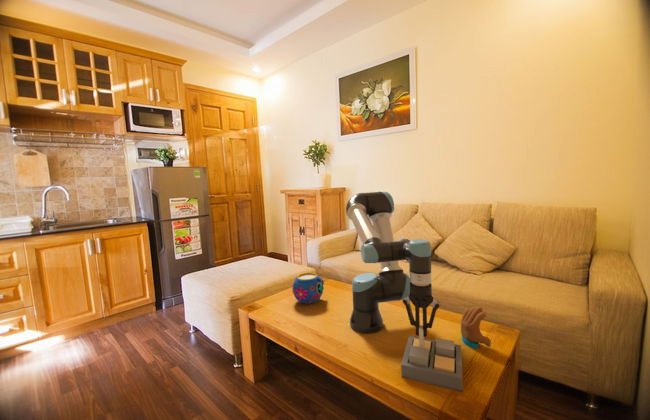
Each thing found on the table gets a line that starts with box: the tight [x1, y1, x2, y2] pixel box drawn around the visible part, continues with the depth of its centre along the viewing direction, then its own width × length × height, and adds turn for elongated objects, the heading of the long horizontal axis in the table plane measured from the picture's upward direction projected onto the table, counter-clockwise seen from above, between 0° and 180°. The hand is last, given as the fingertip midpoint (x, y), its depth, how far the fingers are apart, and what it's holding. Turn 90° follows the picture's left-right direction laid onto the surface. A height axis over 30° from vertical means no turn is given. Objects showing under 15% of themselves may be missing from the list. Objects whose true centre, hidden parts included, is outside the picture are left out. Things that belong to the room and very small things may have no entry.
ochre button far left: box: [413, 338, 431, 353], centre depth 102 cm, size 6×6×4 cm
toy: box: [460, 306, 492, 350], centre depth 108 cm, size 12×7×15 cm, turn 5°
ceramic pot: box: [291, 272, 325, 304], centre depth 156 cm, size 18×18×15 cm
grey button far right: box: [435, 337, 455, 358], centre depth 99 cm, size 6×6×4 cm
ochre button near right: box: [434, 355, 454, 373], centre depth 92 cm, size 6×6×4 cm
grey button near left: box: [409, 345, 429, 367], centre depth 95 cm, size 6×6×4 cm
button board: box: [400, 335, 464, 393], centre depth 97 cm, size 18×18×4 cm
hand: (421, 343), depth 102 cm, fingers closed
